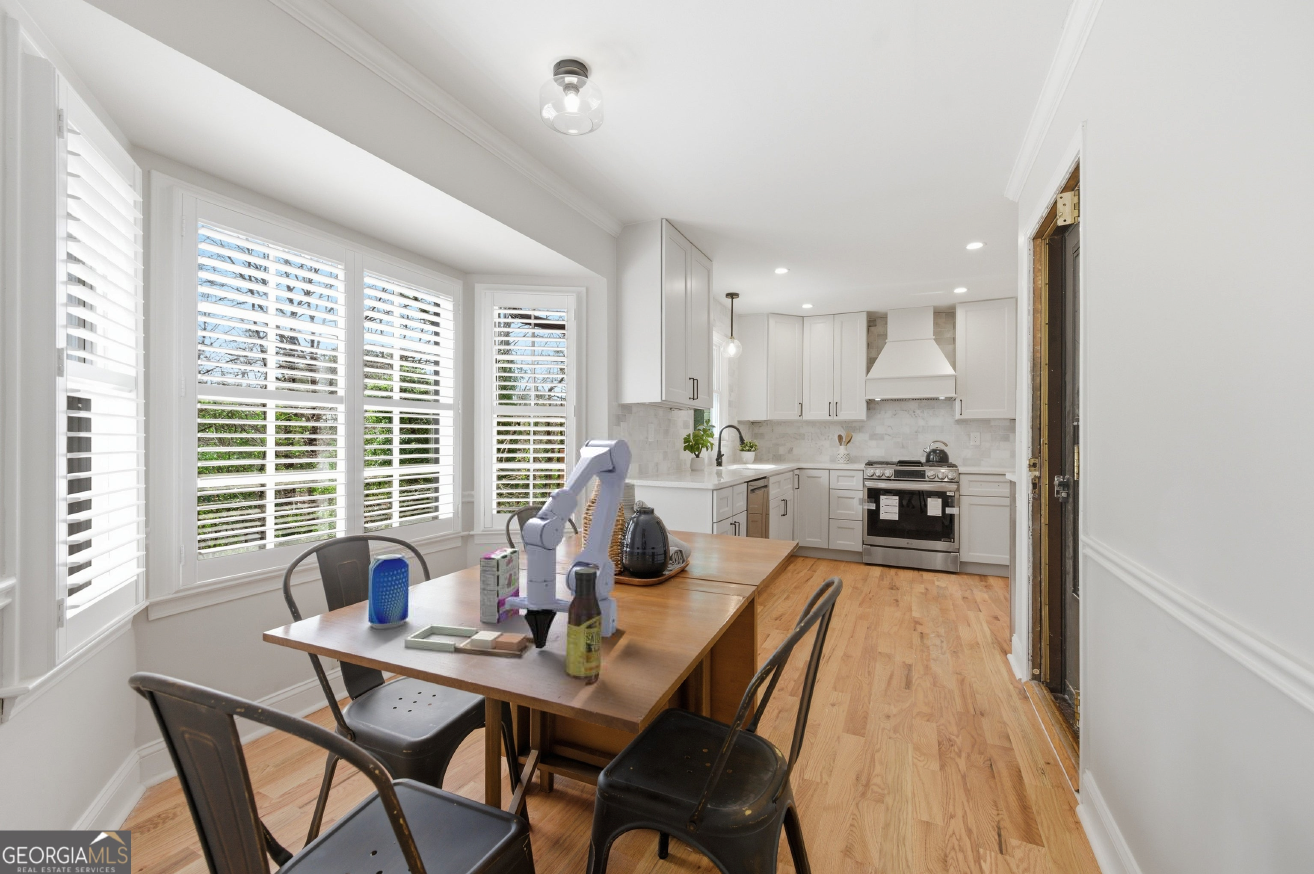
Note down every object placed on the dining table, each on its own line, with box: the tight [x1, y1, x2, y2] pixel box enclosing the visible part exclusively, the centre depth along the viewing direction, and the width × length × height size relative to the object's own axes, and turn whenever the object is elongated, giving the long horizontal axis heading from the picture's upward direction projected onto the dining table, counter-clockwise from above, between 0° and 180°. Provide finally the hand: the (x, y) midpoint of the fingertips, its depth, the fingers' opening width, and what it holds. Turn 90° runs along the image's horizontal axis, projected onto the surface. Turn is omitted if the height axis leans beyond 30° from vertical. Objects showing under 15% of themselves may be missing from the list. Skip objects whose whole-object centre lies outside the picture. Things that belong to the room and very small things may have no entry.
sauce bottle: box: [565, 568, 602, 686], centre depth 104 cm, size 6×6×20 cm
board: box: [453, 631, 535, 659], centre depth 115 cm, size 14×9×2 cm, turn 78°
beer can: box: [367, 552, 410, 630], centre depth 132 cm, size 8×8×16 cm
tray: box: [404, 624, 478, 652], centre depth 118 cm, size 11×9×3 cm
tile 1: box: [469, 630, 503, 649], centre depth 116 cm, size 4×4×2 cm
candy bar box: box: [479, 547, 520, 624], centre depth 135 cm, size 11×5×16 cm, turn 168°
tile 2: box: [496, 632, 527, 652], centre depth 115 cm, size 4×4×2 cm
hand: (540, 646), depth 113 cm, fingers closed
